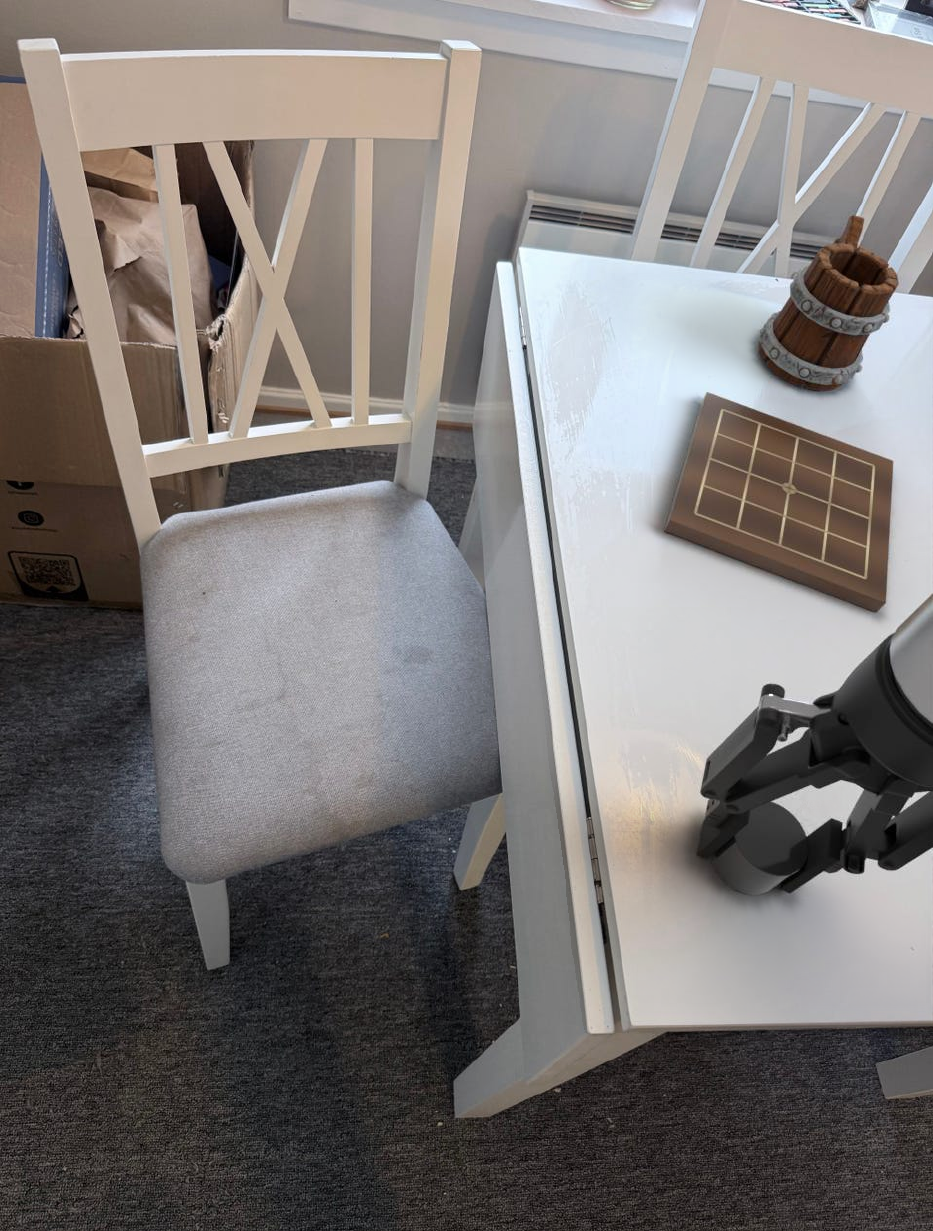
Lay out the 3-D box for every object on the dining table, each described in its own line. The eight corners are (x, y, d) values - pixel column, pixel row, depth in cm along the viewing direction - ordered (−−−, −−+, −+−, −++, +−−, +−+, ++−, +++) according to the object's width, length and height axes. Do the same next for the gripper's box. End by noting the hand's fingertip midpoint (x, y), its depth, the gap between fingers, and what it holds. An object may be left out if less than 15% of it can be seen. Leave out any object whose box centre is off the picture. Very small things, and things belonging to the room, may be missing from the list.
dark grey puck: (795, 871, 59) (824, 851, 55) (744, 909, 56) (771, 891, 53) (745, 809, 61) (770, 786, 58) (694, 843, 59) (717, 822, 55)
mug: (752, 380, 91) (820, 241, 81) (744, 326, 101) (803, 197, 91) (856, 409, 91) (937, 274, 81) (836, 352, 101) (906, 226, 91)
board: (876, 613, 74) (886, 602, 73) (663, 531, 76) (669, 520, 75) (885, 471, 86) (893, 460, 85) (701, 402, 88) (707, 391, 86)
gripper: (1137, 695, 41) (874, 859, 60) (782, 560, 43) (633, 761, 61) (1161, 829, 37) (869, 961, 55) (764, 674, 38) (609, 854, 57)
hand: (746, 856), depth 58 cm, fingers open, 5 cm apart
